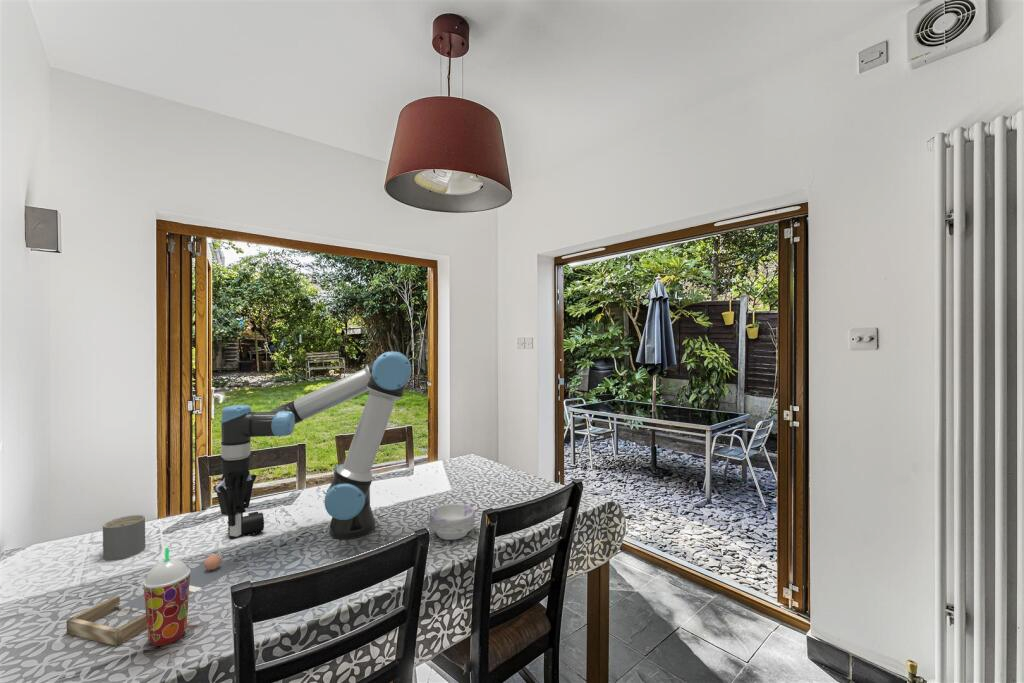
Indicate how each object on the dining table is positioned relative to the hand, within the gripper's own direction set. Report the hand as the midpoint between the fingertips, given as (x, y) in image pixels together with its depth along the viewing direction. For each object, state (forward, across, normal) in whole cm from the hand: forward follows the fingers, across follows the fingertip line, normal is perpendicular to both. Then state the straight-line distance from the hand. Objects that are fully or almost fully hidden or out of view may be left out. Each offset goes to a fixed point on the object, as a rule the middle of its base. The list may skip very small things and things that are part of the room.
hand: (235, 535), depth 133 cm
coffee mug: (+8, +5, -40) cm, 41 cm away
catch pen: (+8, +32, 0) cm, 33 cm away
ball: (+7, +8, 0) cm, 10 cm away
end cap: (+8, -14, -12) cm, 20 cm away
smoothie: (+8, +32, +16) cm, 37 cm away
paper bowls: (+7, -33, +56) cm, 66 cm away
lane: (+8, +15, 0) cm, 17 cm away
